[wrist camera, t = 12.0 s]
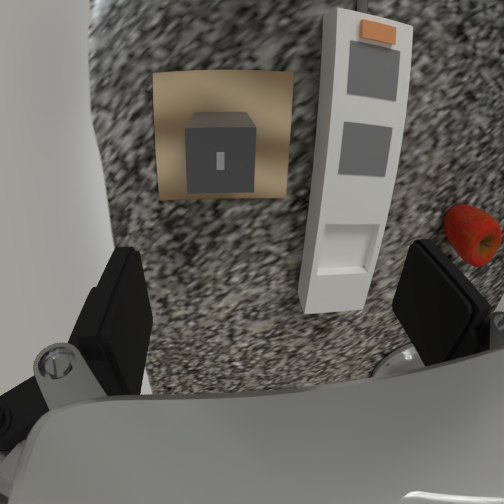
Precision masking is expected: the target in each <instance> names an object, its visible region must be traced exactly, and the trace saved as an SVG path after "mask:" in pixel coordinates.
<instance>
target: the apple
mask: <svg viewBox="0 0 504 504" xmlns="http://www.w3.org/2000/svg"><path fill="white" fill-rule="evenodd" d="M443 225H444V231H445V234H446V237H447V239H448V240H449V242H450V244H451V245H452V247H453V248H454V250H455V251H456V252H457V254H458V255H459V256H460V257H461V258H462V259H463V260H464V261H465V262H466V263H468V264H470V265H472V266H474V267H480V266H483V265H485V264H486V263H488V262H489V261H490V260H491V259H492V257H493V256H494V255H495V253H496V251H497V249H498V247H499V245H500V243H501V229H500V226H499V224H498V222H497V221H496V220H495V219H494V218H493V217H492V216H490V215H489V214H488V213H486V212H484V211H482V210H480V209H478V208H475V207H473V206H469V205H456V206H453V207H452V208H450V209H449V210H448V211H447V213H446V214H445V217H444V221H443Z"/></svg>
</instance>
